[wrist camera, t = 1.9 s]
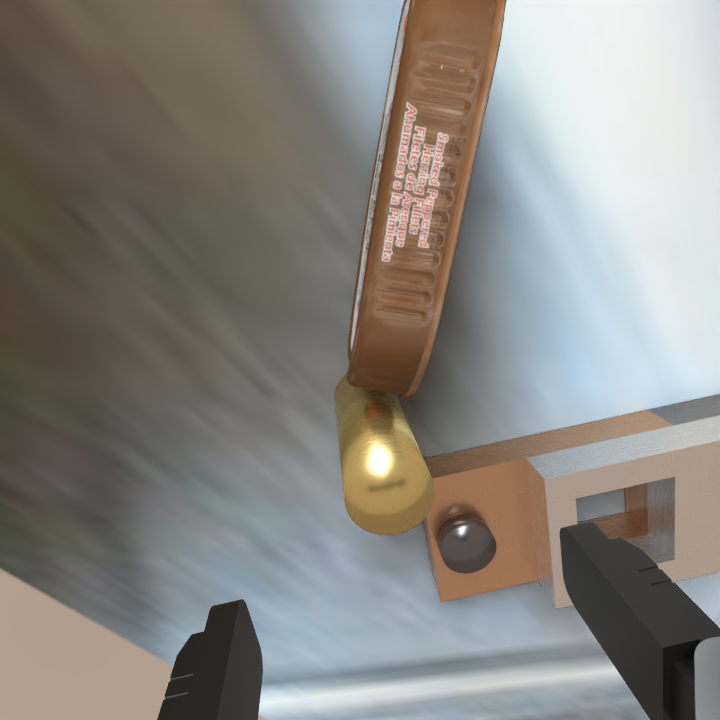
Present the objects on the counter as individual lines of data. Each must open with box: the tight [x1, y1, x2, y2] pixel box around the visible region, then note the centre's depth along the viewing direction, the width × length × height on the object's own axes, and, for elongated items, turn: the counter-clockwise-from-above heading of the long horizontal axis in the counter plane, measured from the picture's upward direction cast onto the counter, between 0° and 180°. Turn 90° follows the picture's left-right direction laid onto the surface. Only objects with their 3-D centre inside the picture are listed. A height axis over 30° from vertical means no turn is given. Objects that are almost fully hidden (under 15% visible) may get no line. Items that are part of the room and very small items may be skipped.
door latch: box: [423, 394, 720, 609], centre depth 25 cm, size 8×18×5 cm, turn 101°
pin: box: [335, 373, 435, 535], centre depth 20 cm, size 3×3×9 cm
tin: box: [347, 0, 506, 398], centre depth 18 cm, size 15×3×8 cm, turn 171°
